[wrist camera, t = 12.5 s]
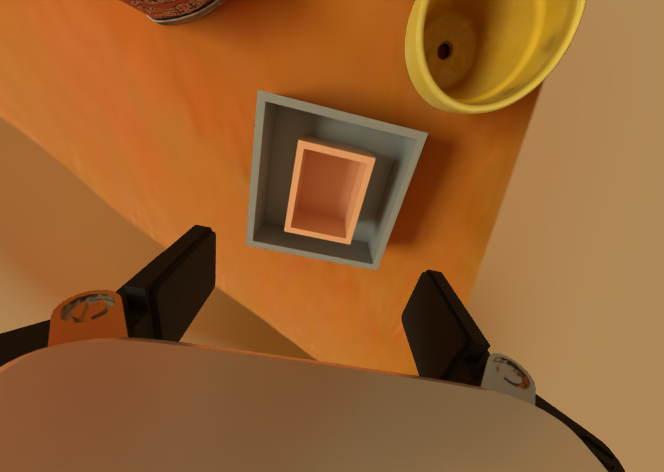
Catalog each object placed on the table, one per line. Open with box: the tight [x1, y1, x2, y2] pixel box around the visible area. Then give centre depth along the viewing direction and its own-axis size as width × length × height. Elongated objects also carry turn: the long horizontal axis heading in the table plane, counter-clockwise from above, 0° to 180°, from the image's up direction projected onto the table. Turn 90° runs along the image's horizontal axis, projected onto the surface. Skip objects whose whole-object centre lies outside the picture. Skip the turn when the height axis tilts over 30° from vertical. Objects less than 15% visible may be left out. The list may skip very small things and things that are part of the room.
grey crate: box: [246, 90, 428, 270], centre depth 27 cm, size 15×15×6 cm
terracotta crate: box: [284, 134, 376, 245], centre depth 26 cm, size 9×7×6 cm
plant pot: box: [405, 0, 586, 114], centre depth 20 cm, size 10×10×10 cm
